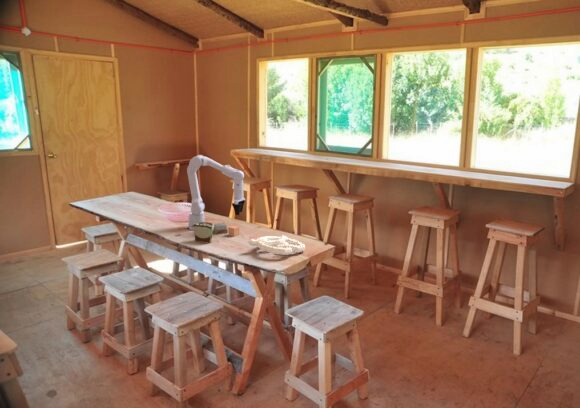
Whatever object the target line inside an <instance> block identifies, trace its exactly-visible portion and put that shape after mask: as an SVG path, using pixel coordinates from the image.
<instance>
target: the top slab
mask: <svg viewBox="0 0 580 408" xmlns="http://www.w3.org/2000/svg"><path fill="white" fill-rule="evenodd" d="M227 226H228V225H227V224H226V223H225V222H221V223H220V222H219V223H214V224H213V227H214V228H215V229H216V230H228V227H227Z"/></svg>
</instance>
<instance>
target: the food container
mask: <svg viewBox="0 0 580 408" xmlns="http://www.w3.org/2000/svg"><path fill="white" fill-rule="evenodd" d="M192 227H194V230H193V233H194V241H195V242H197V243H198V242H199V243H204V244H205V243H206V244H211V243H212V240H213V239H212V238H213V229H214V224H213V223H212V222H209V221H204V222H197V223H193V226H192Z"/></svg>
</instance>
